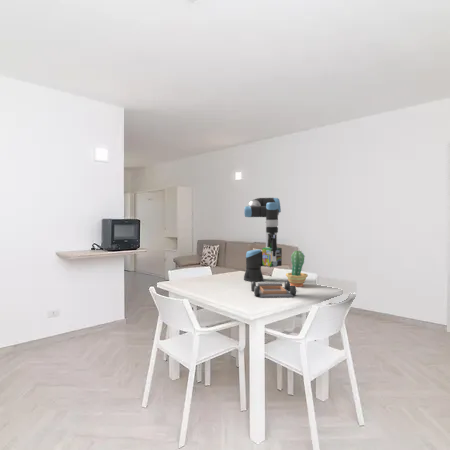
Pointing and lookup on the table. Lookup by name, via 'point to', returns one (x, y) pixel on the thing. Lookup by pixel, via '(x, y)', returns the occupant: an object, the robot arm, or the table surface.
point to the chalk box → (268, 257)
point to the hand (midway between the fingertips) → (271, 260)
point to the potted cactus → (297, 270)
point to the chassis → (273, 290)
